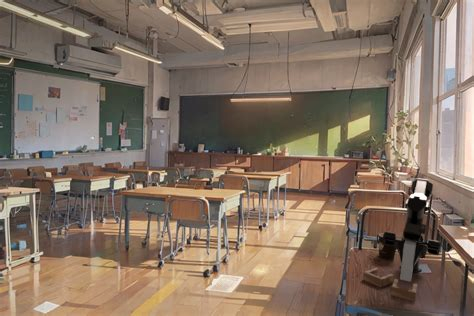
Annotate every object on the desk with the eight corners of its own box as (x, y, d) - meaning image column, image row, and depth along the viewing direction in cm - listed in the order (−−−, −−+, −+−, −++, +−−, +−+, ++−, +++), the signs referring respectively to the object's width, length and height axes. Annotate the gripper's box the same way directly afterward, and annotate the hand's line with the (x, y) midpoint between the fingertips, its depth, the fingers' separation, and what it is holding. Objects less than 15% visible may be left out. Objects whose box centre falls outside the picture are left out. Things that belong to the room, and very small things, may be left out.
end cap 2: (393, 288, 144) (394, 278, 143) (416, 294, 140) (417, 284, 140) (390, 297, 137) (392, 286, 136) (414, 303, 133) (415, 292, 133)
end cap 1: (374, 277, 153) (375, 267, 153) (392, 284, 148) (393, 274, 147) (362, 281, 148) (363, 272, 148) (381, 289, 142) (382, 279, 142)
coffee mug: (398, 262, 173) (401, 240, 172) (378, 259, 174) (380, 237, 173) (392, 253, 184) (394, 232, 183) (373, 250, 185) (375, 230, 184)
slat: (401, 275, 141) (405, 240, 140) (411, 277, 139) (416, 242, 138) (399, 279, 137) (404, 243, 136) (410, 281, 136) (415, 245, 134)
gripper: (386, 209, 144) (378, 246, 135) (443, 219, 135) (439, 259, 126) (387, 225, 151) (379, 261, 143) (441, 235, 143) (436, 274, 134)
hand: (407, 263), depth 136 cm, fingers closed on slat, 3 cm apart
